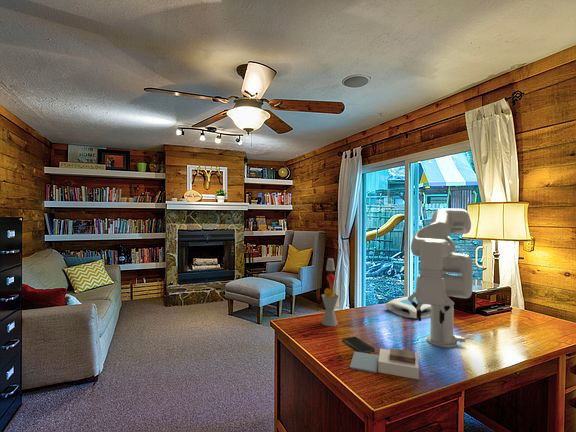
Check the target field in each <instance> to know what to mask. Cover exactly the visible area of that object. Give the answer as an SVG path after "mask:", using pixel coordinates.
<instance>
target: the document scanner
mask: <svg viewBox="0 0 576 432" xmlns="http://www.w3.org/2000/svg"><path fill="white" fill-rule="evenodd" d="M409 296H410V295H409ZM409 296H403V297H399V298H393V299H391V300H390V301H388V302H386V303H385V309H387V310H389V311H390V312H392V313H393V314H396V315H398V316H401V317H404V318H407V319H408V318H410V319H418V318H417V310H416V308H415V307H414V306H413V305H412V304H411V303H410V302H409V300H408V297H409ZM413 301H414V302H415V303H416V304H417V303H418V302H417V301H416V297H415V298H413ZM420 309H421V319H426V318H429V317H430V318H431V305H429V304H422V306H421V308H420ZM403 310H408V312H406V311H403ZM423 311H426V312H423ZM422 312H423V313H422Z"/></svg>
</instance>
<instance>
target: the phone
mask: <svg viewBox="0 0 576 432" xmlns="http://www.w3.org/2000/svg"><path fill="white" fill-rule="evenodd" d="M342 342H343V343H345V344H346V345H347V346H349V347H350V348H352V349H353V350H354V351H355V352H361V353H367V354H370V353H374V352H375V347H373V346H371V345H370V344H368V343H366V342H365V341H363V339H360V338H359V337H357V336H350V337H343V338H342Z"/></svg>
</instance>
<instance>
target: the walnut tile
mask: <svg viewBox="0 0 576 432" xmlns="http://www.w3.org/2000/svg"><path fill="white" fill-rule="evenodd" d="M389 350H390V360H394V361H400V362H406V363H412V364H415V362H416V358H415V354H416V352H415V351H412V350H411V351H410V350H405V349H399V348H398V349H397V348H392V347H391V348H389Z"/></svg>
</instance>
